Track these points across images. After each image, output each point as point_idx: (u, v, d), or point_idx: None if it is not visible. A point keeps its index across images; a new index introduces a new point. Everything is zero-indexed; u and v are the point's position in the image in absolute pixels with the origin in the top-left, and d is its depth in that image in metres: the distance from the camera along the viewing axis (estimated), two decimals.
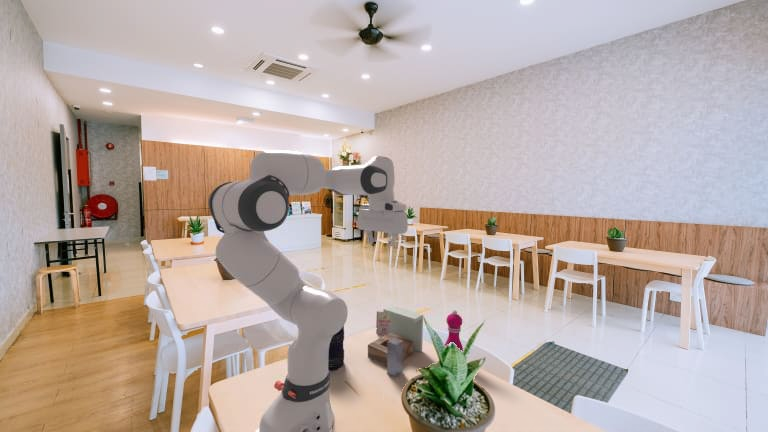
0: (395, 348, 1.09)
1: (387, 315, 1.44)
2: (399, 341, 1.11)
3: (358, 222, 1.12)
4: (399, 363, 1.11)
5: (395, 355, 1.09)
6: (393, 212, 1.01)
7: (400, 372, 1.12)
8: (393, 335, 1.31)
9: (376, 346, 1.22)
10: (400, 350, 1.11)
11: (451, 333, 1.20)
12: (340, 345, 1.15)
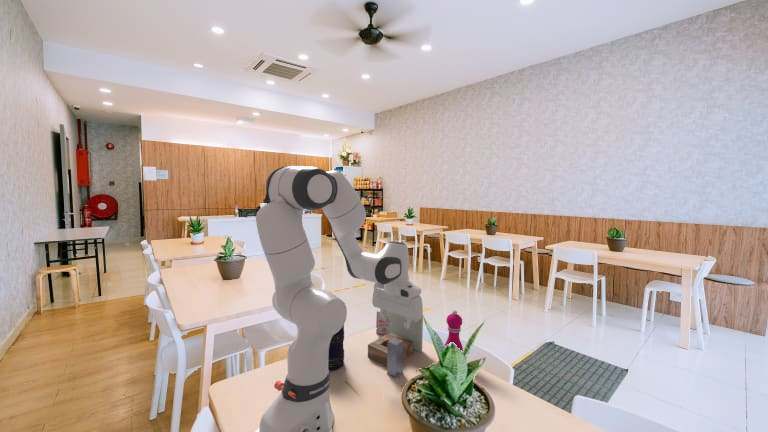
0: (395, 348, 1.09)
1: None
2: (399, 341, 1.11)
3: (373, 300, 1.15)
4: (399, 363, 1.11)
5: (395, 355, 1.09)
6: (409, 299, 1.04)
7: (400, 372, 1.12)
8: (393, 335, 1.31)
9: (376, 346, 1.22)
10: (400, 350, 1.11)
11: (451, 333, 1.20)
12: (340, 345, 1.15)
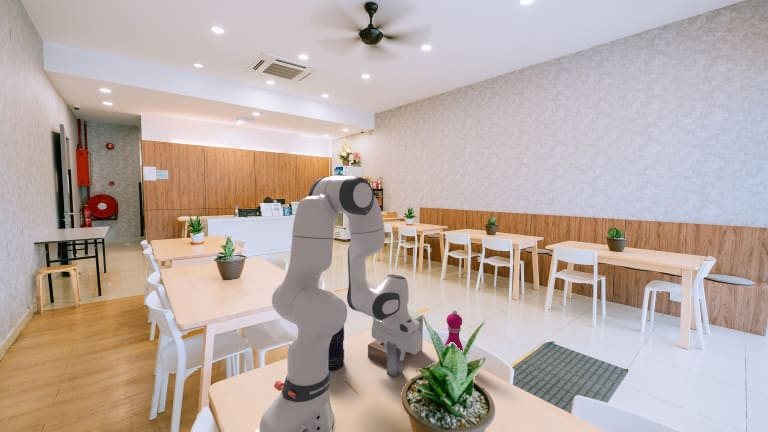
0: (395, 348, 1.09)
1: None
2: None
3: (372, 331, 1.16)
4: (399, 363, 1.11)
5: (395, 355, 1.09)
6: (408, 334, 1.05)
7: (400, 372, 1.12)
8: None
9: (376, 346, 1.22)
10: (400, 350, 1.11)
11: (451, 333, 1.20)
12: (340, 345, 1.15)
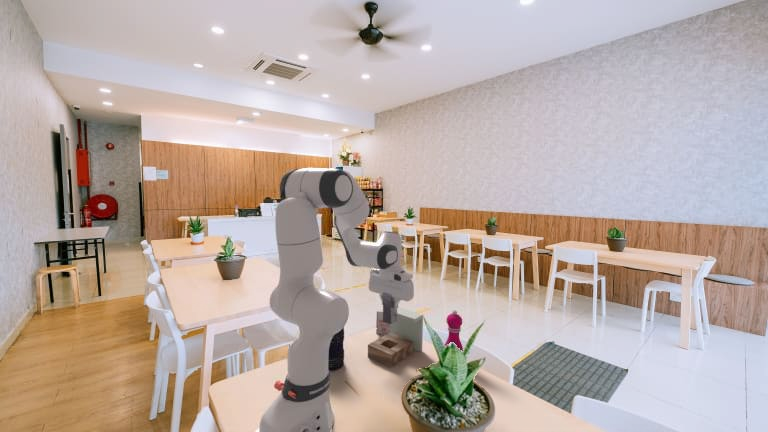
0: (390, 297, 1.20)
1: None
2: None
3: (369, 285, 1.27)
4: (393, 311, 1.22)
5: (390, 304, 1.20)
6: (401, 282, 1.15)
7: (395, 320, 1.23)
8: (393, 335, 1.31)
9: (376, 346, 1.22)
10: None
11: (451, 333, 1.20)
12: (340, 345, 1.15)
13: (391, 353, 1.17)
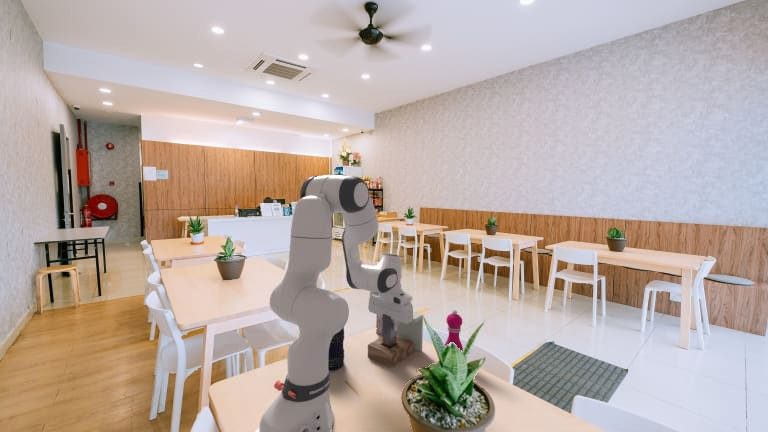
0: (389, 319, 1.21)
1: None
2: None
3: (369, 306, 1.27)
4: (393, 333, 1.22)
5: (389, 326, 1.21)
6: (401, 305, 1.16)
7: (394, 341, 1.23)
8: None
9: (376, 346, 1.22)
10: None
11: (451, 333, 1.20)
12: (340, 345, 1.15)
13: (391, 353, 1.17)
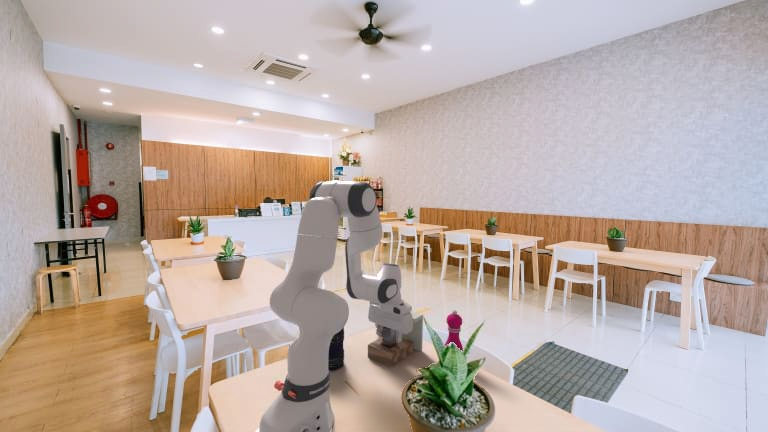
0: (389, 333, 1.21)
1: None
2: None
3: (369, 315, 1.28)
4: (393, 346, 1.23)
5: (389, 339, 1.21)
6: (400, 315, 1.16)
7: None
8: None
9: (376, 346, 1.22)
10: (394, 334, 1.23)
11: (451, 333, 1.20)
12: (340, 345, 1.15)
13: (391, 353, 1.17)
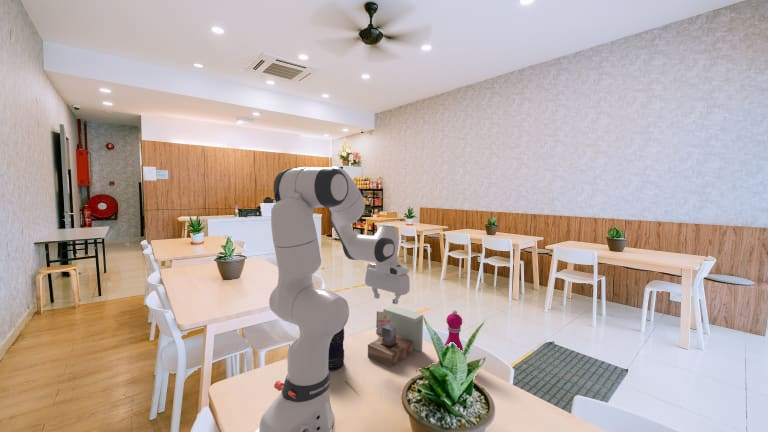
0: (389, 333, 1.21)
1: (387, 315, 1.44)
2: (393, 327, 1.23)
3: (366, 279, 1.27)
4: (392, 346, 1.23)
5: (389, 339, 1.21)
6: (397, 276, 1.16)
7: None
8: None
9: (376, 346, 1.22)
10: (394, 334, 1.23)
11: (451, 333, 1.20)
12: (340, 345, 1.15)
13: (391, 353, 1.17)
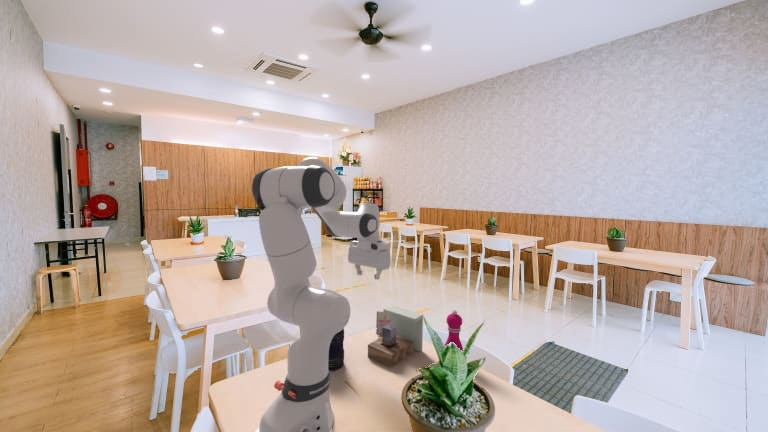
0: (389, 333, 1.21)
1: (387, 315, 1.44)
2: (393, 327, 1.23)
3: (349, 256, 1.29)
4: (392, 346, 1.23)
5: (389, 339, 1.21)
6: (378, 251, 1.18)
7: None
8: None
9: (376, 346, 1.22)
10: (394, 334, 1.23)
11: (451, 333, 1.20)
12: (340, 345, 1.15)
13: (391, 353, 1.17)
